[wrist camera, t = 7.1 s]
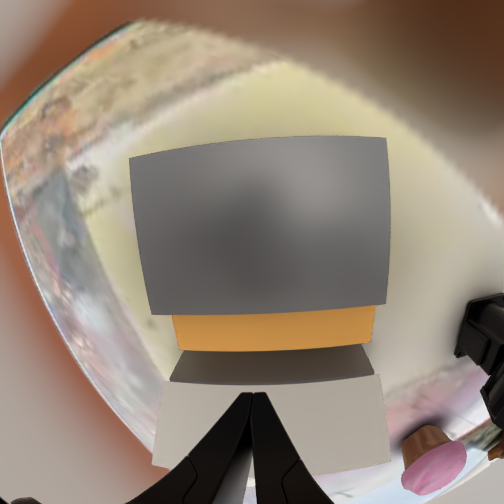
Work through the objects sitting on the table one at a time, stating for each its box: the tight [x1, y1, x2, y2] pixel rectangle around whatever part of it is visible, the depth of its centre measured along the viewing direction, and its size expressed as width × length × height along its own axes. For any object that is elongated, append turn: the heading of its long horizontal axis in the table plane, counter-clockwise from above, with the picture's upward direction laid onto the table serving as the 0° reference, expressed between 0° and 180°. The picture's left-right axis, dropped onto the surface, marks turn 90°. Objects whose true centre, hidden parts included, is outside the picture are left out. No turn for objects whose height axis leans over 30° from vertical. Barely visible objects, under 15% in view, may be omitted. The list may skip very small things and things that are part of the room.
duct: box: [129, 136, 390, 385], centre depth 18 cm, size 15×22×4 cm, turn 4°
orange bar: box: [172, 305, 375, 351], centre depth 19 cm, size 14×4×4 cm
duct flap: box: [152, 374, 391, 478], centre depth 14 cm, size 15×6×1 cm
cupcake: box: [401, 425, 467, 495], centre depth 19 cm, size 9×9×10 cm
